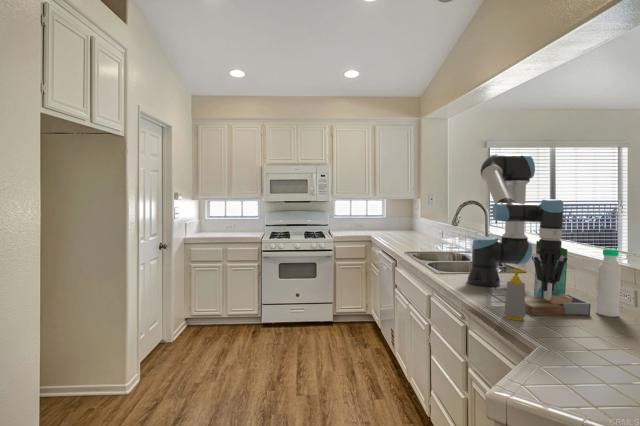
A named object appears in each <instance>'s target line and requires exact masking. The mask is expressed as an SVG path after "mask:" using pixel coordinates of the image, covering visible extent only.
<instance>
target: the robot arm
mask: <svg viewBox="0 0 640 426" xmlns="http://www.w3.org/2000/svg"><path fill="white" fill-rule="evenodd" d="M535 172H536V165H535V161H534V159H533V157H532V156H531V155H530V154H523V153H518V154H517V153H515V154H514V153H512V154H511V153H510V154H508V153H507V154H504V153H503V154H501V153H500V154H499V153H498V154H493V155H491V156H489V157H488V158H486V160H484V161H483V162H482V165H481V167H480V176H481V178H482V180H483V181H484V182H486V185H487V188H488V191H489V192H490V196H491V198H492V200H493V203H494V204H493V206H492V209H491V212H492V213H491V214H492V218H493V220H494V221H498V222H505V223H504V224H505V225H504V234H502V235H501V239H499V238H498V237H497V236H481V237H475V238H474V239H473V241H472V247H471V249H472V251H471V268H470V271H469V272H468V276H467V283H468V284H470V285H473V286H479V287H488V288H489V287H491V288H492V287H500V285H501V279H500V275H499V272H498V264H511V265H526V264H527V263H528V262H530V260H532V261H533V263H534V269H535V270H536V275H537V279H538V280H540V281H542V290H544V298H545V299H547V300H551V297H552V291H553V290H554V284H555V283H556V282H559V281H560V278H561V274H562V271H563V268H564V264H565V263H566V261H567V262H568V260H569V259H568V257H567V258H566V257H564V256H562V254H561V248H562V246H561V245H562V243H563V241H562V240H561V239H562V236H563V222H564V221H563V219H564V201H563V200H562V199H542V200H541V201H540V203H526V199H527V198H526V197H527V194H526V193H527V185H528V184H529V183H530V181H531V179H532V178H534V176H535ZM526 222H527V223H539V234H538V235H539V239H538V241H539V252H538V255H536V254H535V256H534V255H533V244H532V242H531V241H530V240H528V236H527V235H526V233H525V226H526V225H525V223H526ZM540 258H541V260H542V268H541V263H540V261H539V260H540ZM558 259H559V261H558ZM557 261H558V263H557ZM556 265H557V267H556ZM535 270H534V271H535ZM548 281H549V282H548Z"/></svg>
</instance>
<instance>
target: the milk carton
mask: <svg viewBox="0 0 640 426" xmlns="http://www.w3.org/2000/svg"><path fill="white" fill-rule="evenodd" d="M562 246H563V245H562V244H561V254H562V256H564V257H566V258H567V259H568V249H567V248H564V247H562ZM538 252H539V240H536V246H535V256H536V255H538ZM539 261H540V263H541V268H542V260H541V258H540V260H539ZM558 261H559V259H558ZM558 261H557V263H558ZM567 264H568V260H567V261H566V263H565V264H564V268H563V271H562V274H561V278H560V281H559V282H556V283H555V284H554V290H553V291H552V294H566V286H567V285H566V284H567V267H568V265H567ZM556 267H557V265H556ZM548 282H549V281H548ZM533 286H534V287H533V288H534V289H533V297H544V290H542V281H540V280H538V279H537V275H536V270H534V284H533Z"/></svg>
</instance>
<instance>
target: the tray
mask: <svg viewBox="0 0 640 426" xmlns="http://www.w3.org/2000/svg"><path fill="white" fill-rule="evenodd" d="M559 295H560V294H552V296H559ZM564 295H566V296H569V297H571V298H573V299H572V303H563V307H564V308H565V316H591V304H592V303H590V302H587V301H586V300H583V299H580V298H578V297H576V296H573V295H570V294H568V293H567V294H566V293H565V294H564Z"/></svg>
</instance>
